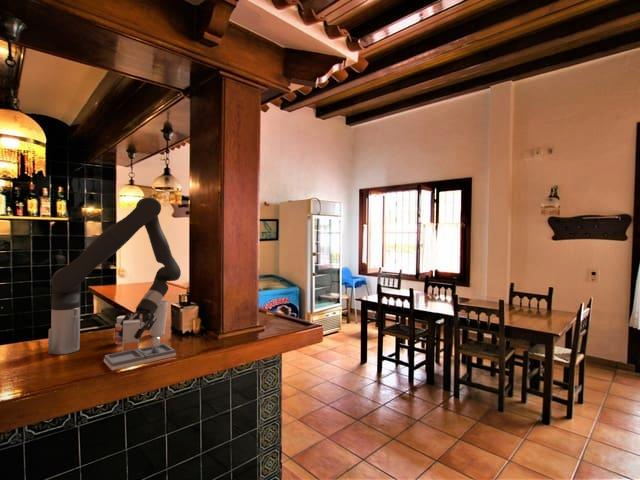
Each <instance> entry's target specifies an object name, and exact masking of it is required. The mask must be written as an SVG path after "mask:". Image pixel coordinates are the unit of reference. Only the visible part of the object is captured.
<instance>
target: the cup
mask: <svg viewBox="0 0 640 480" xmlns="http://www.w3.org/2000/svg"><path fill="white" fill-rule="evenodd" d="M168 303H169V301H167V300H163V299H162V301H161V303H160V305H159V307H158V308H157V310H156V312H155V313H154V316H155V317H156V318H157V320H156V321H155V323H154V324H153V326H152V327H151V329H150V330H149V333H150V335H149V336H151V337H154V336H160V337H162V336H164V335H165V332H166V324H167V313H168V306H169V304H168Z"/></svg>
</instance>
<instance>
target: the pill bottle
mask: <svg viewBox="0 0 640 480" xmlns="http://www.w3.org/2000/svg"><path fill="white" fill-rule="evenodd" d="M124 317H125V315H119V316H117V317H116V323H115V324H114V325H115V326H114V344H116V345H120V346H122V343H123V337H120V336H119V332H120V331H121V329H122V327H123V326H122V325H120V323H121V322H122V320H123V319H124Z"/></svg>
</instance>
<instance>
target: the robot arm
mask: <svg viewBox="0 0 640 480" xmlns="http://www.w3.org/2000/svg"><path fill="white" fill-rule="evenodd" d="M161 211H162V204H161V202H160V201H159V200H158V199H157V198H154V197H143V198H140V199H139V200H138V201H137V203H136V207H134V209H133V210H131V211H130V213H129V214H127V215H126V216H125V217H124V218H122V219H120V220H119V221H117V222H114V224H112V225H111V226H109V227H107V228H106V229H105V230H104V231H102V233H100V234H99V235H98V236H97V237H95V238H94V240H93V241H92V242H90V244H89V245H87V247H86V248H85V249H84V250H83V251H82V252H81V254H80V255H79V256H78V257H76V258H75V259H74V260H73V261H72V262H70V263H68V264H67V265H66V266H64V267H62V268H59V269H58V270H56V271H55V273H54V274H53V275H52V278H51V285H52V288H51V289H52V291H51V293H52V294H51V316H50V317H51V322H50V323H51V324H50V325H51V326H50V327H51V328H49V329H48V340H47V341H48V343H47V344H48V347H47V349H48V351H47V352H48V354H52V355H66V354H71V353H75V352H78V351H79V350H80V345H81V344H80V343H81V342H80V341H81V339H80V337H81V336H80V335H81V334H80V333H81V291H82V290H81V289H82V288H81V287H82V285H81V283H82V282H83V281H84V280H85V279H86V278H87V276H89V275H90V274H91V273H92V272H93V271H94V270H95V269H97V268H98V267H99V266H100V265H101V264H102V263H104V262H105V261H107V260H108V259H110V258H111V257H112V256H113V255H114V254H115V253H117V252H118V251H119V250H120V249H121V248H122V247H123V246H124V245H126V244H127V243H128V242H129V241H130V240H131V239H132V238H133V237H134V236H135V234H136V233H137V232H139V230H141V228H143V227H144V228H145V230H146V232H147V235H148V239H149V242H150V244H151V245H150V246H151V249H152V252H153V255H154V259H155V261H156V263H158V264H161V265H163V266H162V267H160V268H159V269H158V270H156V274H155V276H154V278H153V283H152V285H151V286H150V287H149V289H148V290H147V291H146V293H145V294H144V295H143V296H142V298H141V299H140V301H139V303H138V304H137V306H136V308H135V310H134V312H133V313H130V312H129V311H128V312H126V313H125V315H124V316H125V317H124V319H123V320H122V322H121V323H120V325H122V326H123V321H125V320H137V319H139V320H140V329H138V331H137V332H136V334H135V336H134V338H135V339H139V340H140V338H141V337H142V335H143V333H144V332H146V331H148V332H150V329H151V327H152V326H153V324H154V323H155V321H156V320H157V318H156V317H155V316H154V313H155V312H156V310H157V308H158V307H159V305H160V303H161V301H162V300H163V299H164V297H165V296H166V295H167V292H168V291H169V285H168V282H176V281H177V280H179V279H180V277H181V275H182V274H181V272H182V271H181V269H180V266H179V264H178V262H177V261H176V259H175V258H174V257H173V254H172V251H171V249H170V245H169V242H168V240H167V238H166V236H165V234H164V232H163V229H162V226H161V223H160V220H159V215H160V213H161ZM119 336H120V337H123V327H122V329H121V331H120V332H119Z"/></svg>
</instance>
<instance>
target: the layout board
mask: <svg viewBox="0 0 640 480" xmlns="http://www.w3.org/2000/svg"><path fill="white" fill-rule="evenodd" d="M173 357H176V349H174V348H173V347H171V346H170V345H168V344H166V343H161V336H151V345H150V346H145V347H139V349H137V350H136V349H134V350H129V351H124V352H122V351H120V352H113V353H110V354H109V353H108V354H105V355H104V358H103V362H104V363H105V365H106V366H107V367H108V368H109V369H110V370H111V371H116V370H121V369H124V368H130V367H134V366H138V365H143V364H146V363H151V362H155V361H160V360H164V359H168V358H173Z"/></svg>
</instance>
